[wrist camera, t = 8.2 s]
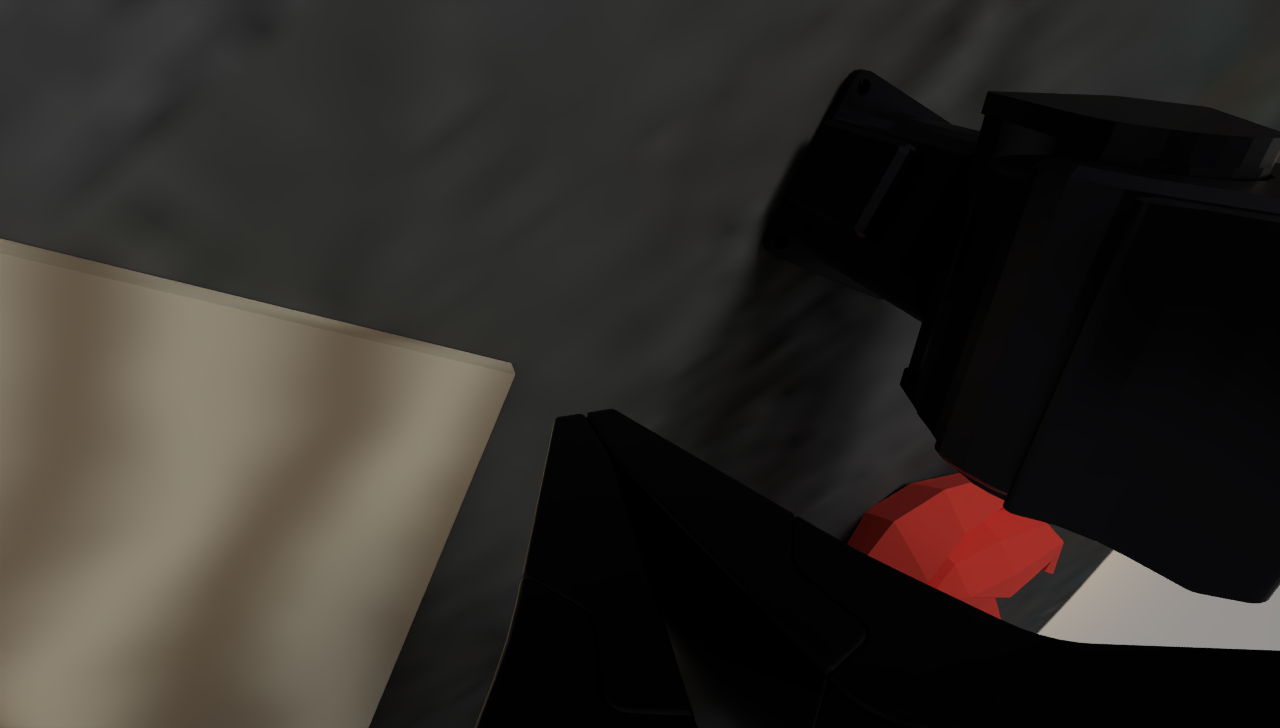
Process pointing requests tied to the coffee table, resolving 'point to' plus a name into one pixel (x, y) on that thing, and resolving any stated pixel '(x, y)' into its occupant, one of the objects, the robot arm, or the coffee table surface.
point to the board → (215, 500)
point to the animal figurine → (957, 540)
